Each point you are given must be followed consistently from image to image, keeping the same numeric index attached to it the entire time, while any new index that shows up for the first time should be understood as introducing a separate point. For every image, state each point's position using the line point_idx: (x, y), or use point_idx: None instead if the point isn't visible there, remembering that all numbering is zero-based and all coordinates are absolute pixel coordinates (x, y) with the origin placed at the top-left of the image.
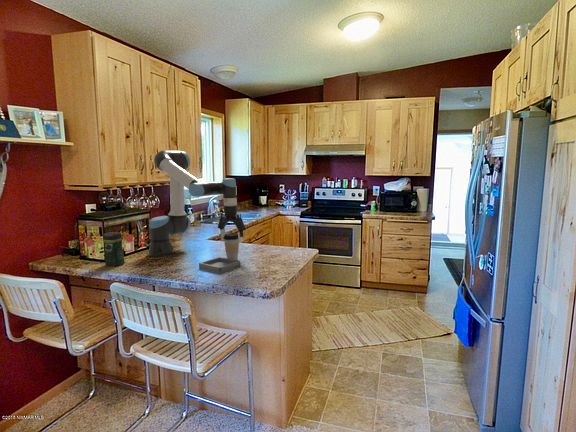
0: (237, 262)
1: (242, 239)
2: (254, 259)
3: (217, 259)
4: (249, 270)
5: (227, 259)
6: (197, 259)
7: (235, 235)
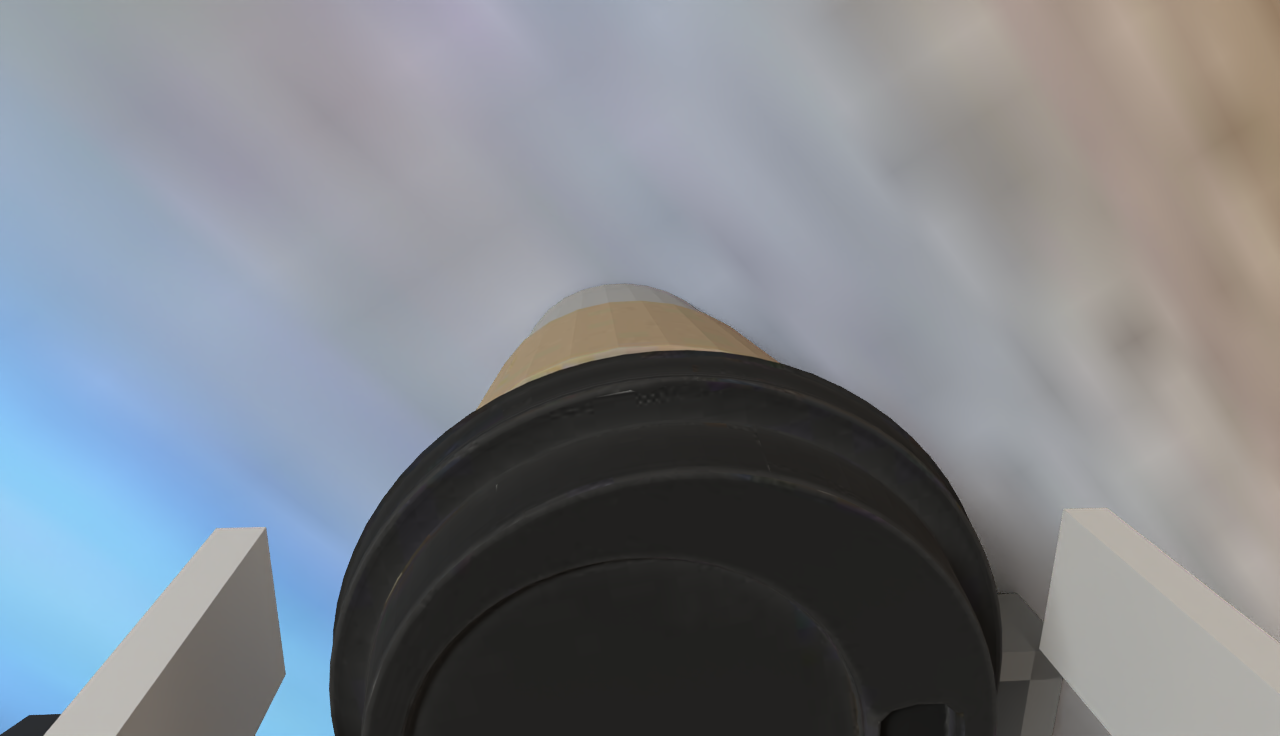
0: (1051, 696)
1: (1167, 564)
2: (1011, 107)
3: None
4: None
5: None
6: None
7: (898, 700)
